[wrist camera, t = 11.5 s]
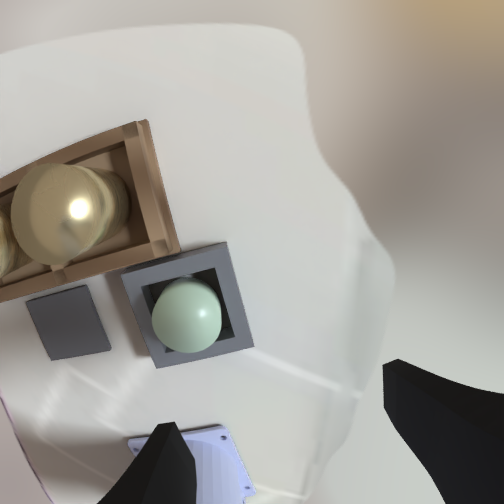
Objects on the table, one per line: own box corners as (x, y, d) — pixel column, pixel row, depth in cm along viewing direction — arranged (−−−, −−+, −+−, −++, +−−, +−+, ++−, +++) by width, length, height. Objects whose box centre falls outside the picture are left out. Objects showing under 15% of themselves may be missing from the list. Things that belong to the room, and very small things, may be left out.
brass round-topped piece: (140, 229, 17) (104, 250, 11) (79, 248, 17) (26, 275, 11) (122, 159, 16) (78, 148, 10) (61, 182, 16) (2, 183, 10)
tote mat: (111, 347, 19) (109, 350, 18) (53, 358, 19) (51, 360, 18) (86, 284, 18) (84, 286, 17) (28, 300, 18) (26, 302, 17)
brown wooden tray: (180, 250, 18) (176, 257, 16) (3, 300, 17) (-12, 309, 15) (148, 121, 16) (140, 113, 14) (-25, 196, 16) (-43, 198, 14)
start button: (228, 328, 18) (229, 344, 17) (169, 342, 18) (165, 358, 16) (211, 270, 18) (210, 281, 16) (149, 286, 18) (142, 298, 16)
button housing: (251, 335, 20) (254, 346, 18) (160, 356, 19) (156, 368, 18) (226, 241, 18) (227, 246, 17) (127, 268, 18) (120, 275, 16)
